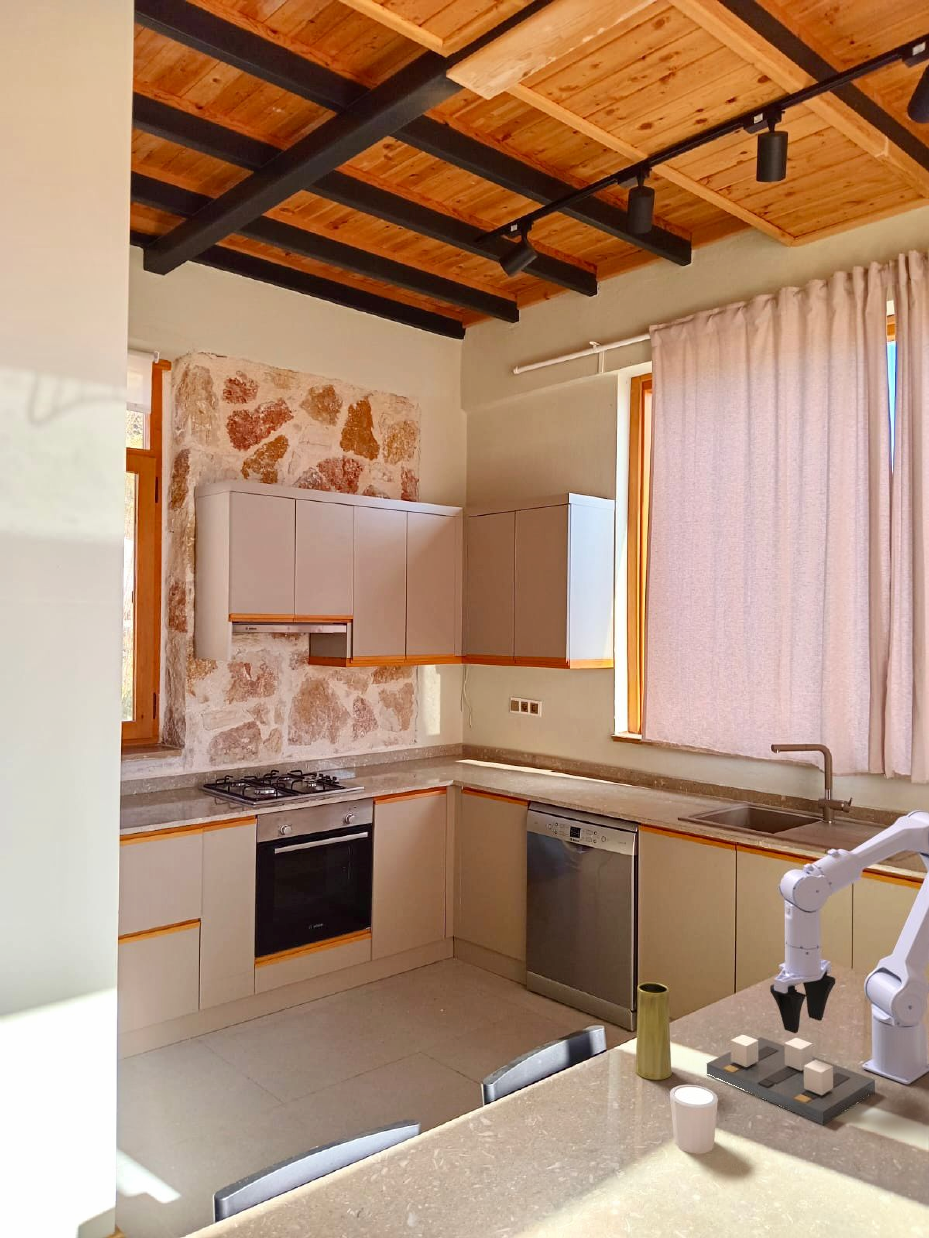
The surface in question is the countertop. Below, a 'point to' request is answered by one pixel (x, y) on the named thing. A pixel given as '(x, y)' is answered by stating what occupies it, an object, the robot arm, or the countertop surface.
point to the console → (792, 1083)
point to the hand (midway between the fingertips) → (803, 1024)
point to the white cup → (694, 1118)
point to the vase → (653, 1032)
